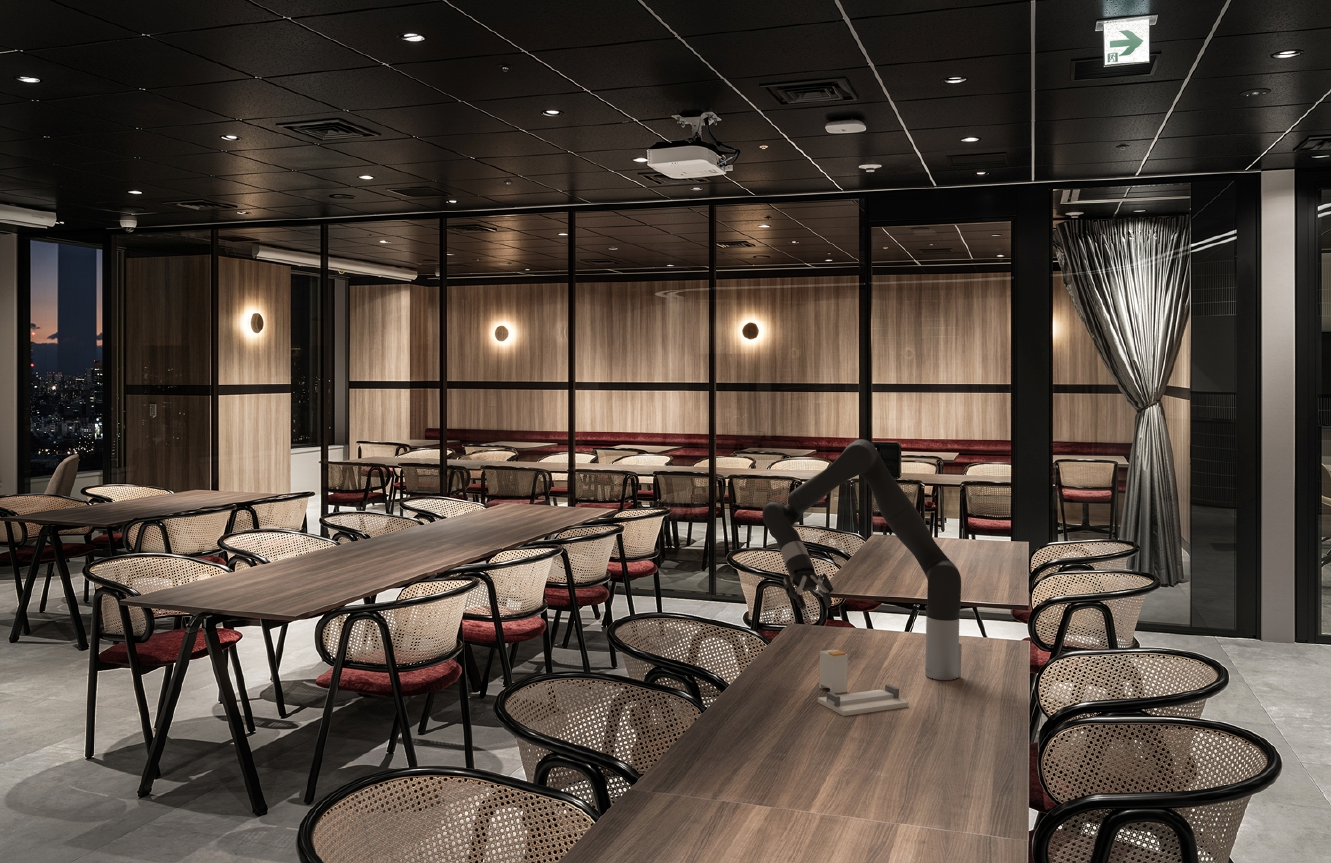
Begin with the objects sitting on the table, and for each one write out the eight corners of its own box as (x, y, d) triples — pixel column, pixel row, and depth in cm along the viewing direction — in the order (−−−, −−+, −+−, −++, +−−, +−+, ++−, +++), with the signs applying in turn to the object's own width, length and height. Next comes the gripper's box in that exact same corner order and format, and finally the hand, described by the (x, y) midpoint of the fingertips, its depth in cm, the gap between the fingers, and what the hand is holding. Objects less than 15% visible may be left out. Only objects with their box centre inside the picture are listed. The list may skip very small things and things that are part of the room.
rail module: (834, 685, 281) (835, 647, 280) (846, 691, 275) (847, 652, 275) (819, 687, 279) (820, 649, 278) (831, 693, 273) (832, 654, 273)
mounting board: (880, 693, 274) (881, 680, 274) (908, 706, 263) (908, 692, 263) (817, 702, 266) (818, 688, 266) (843, 715, 255) (844, 701, 255)
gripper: (781, 553, 292) (800, 601, 282) (822, 551, 298) (843, 598, 288) (771, 568, 297) (790, 616, 287) (812, 566, 303) (832, 612, 293)
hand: (816, 607), depth 287 cm, fingers open, 8 cm apart
